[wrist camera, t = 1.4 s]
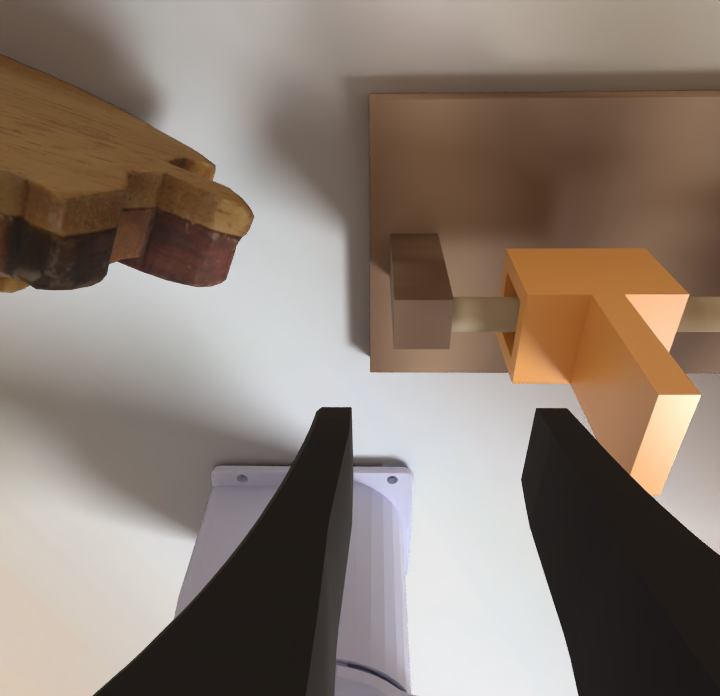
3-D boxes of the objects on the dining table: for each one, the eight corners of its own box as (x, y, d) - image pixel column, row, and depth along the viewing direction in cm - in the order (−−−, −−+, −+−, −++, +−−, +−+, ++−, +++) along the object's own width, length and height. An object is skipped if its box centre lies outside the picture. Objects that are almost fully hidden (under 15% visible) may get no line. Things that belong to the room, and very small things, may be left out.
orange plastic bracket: (494, 329, 18) (548, 494, 12) (506, 248, 16) (574, 394, 11) (621, 330, 18) (734, 495, 12) (645, 248, 16) (786, 394, 11)
